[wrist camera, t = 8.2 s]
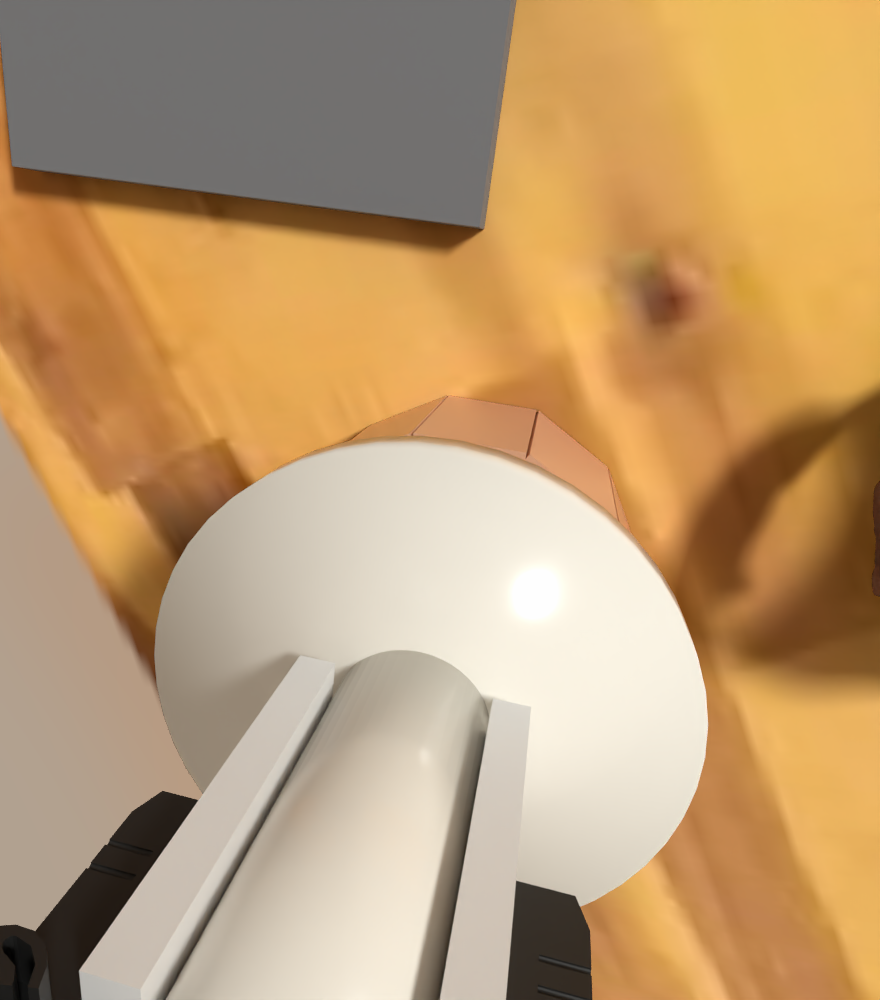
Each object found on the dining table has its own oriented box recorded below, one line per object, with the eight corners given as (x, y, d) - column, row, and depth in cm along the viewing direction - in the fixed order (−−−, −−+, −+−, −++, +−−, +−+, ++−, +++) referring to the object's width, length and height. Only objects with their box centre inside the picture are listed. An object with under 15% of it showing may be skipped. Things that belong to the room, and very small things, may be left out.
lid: (179, 386, 14) (-446, 570, 5) (777, 500, 12) (1245, 1007, 4) (178, 821, 18) (-168, 1308, 9) (621, 944, 16) (678, 1651, 8)
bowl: (329, 375, 21) (260, 406, 16) (666, 431, 19) (697, 482, 15) (310, 654, 24) (250, 745, 20) (592, 717, 23) (598, 831, 18)
